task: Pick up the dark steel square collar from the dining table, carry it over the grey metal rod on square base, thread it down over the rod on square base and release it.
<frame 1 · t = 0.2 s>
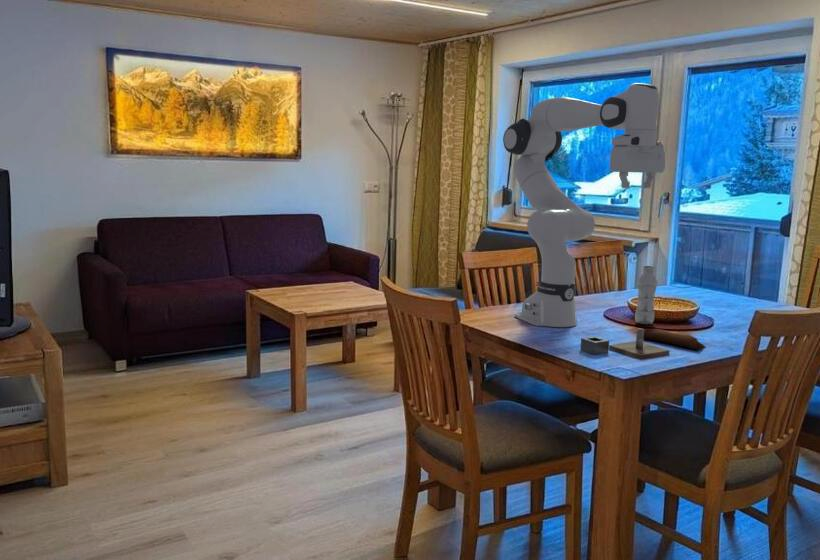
hand: (636, 188, 211), 47 cm above the table, tool pointing down, fingers open, 8 cm apart
brown tapered cylinder: (674, 345, 222), on the table
ring: (594, 351, 209), on the table
rod on square base: (638, 351, 211), on the table
plastic bottle: (643, 324, 248), on the table
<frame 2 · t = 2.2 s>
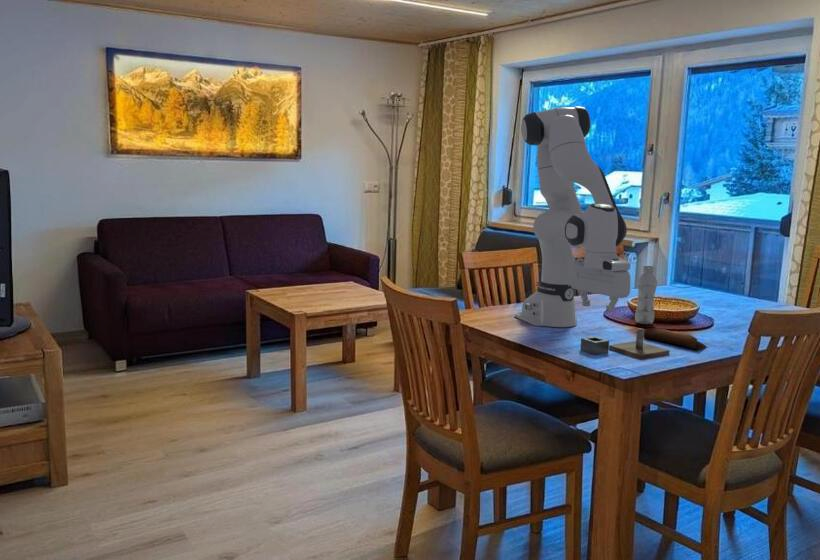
hand: (597, 308, 207), 13 cm above the table, tool pointing down, fingers open, 8 cm apart
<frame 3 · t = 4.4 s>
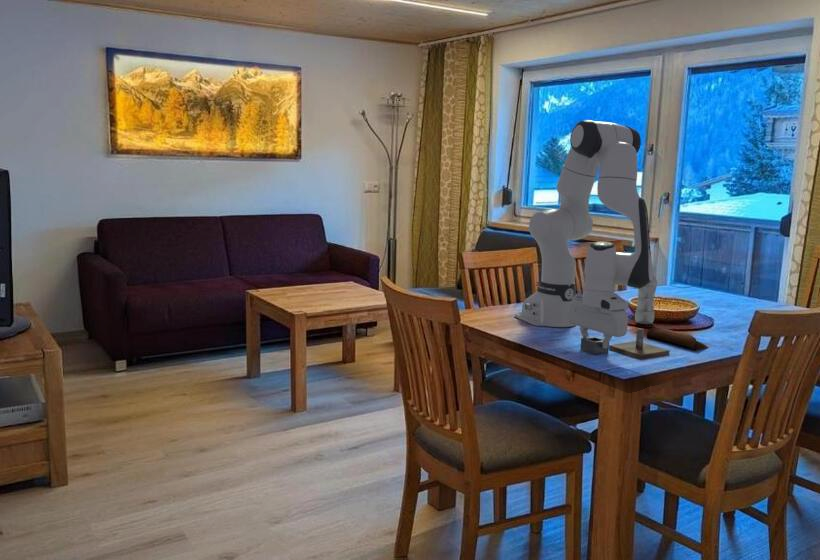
hand: (594, 345, 209), 2 cm above the table, tool pointing down, fingers closed on ring, 6 cm apart
ring: (594, 351, 209), on the table, touching gripper
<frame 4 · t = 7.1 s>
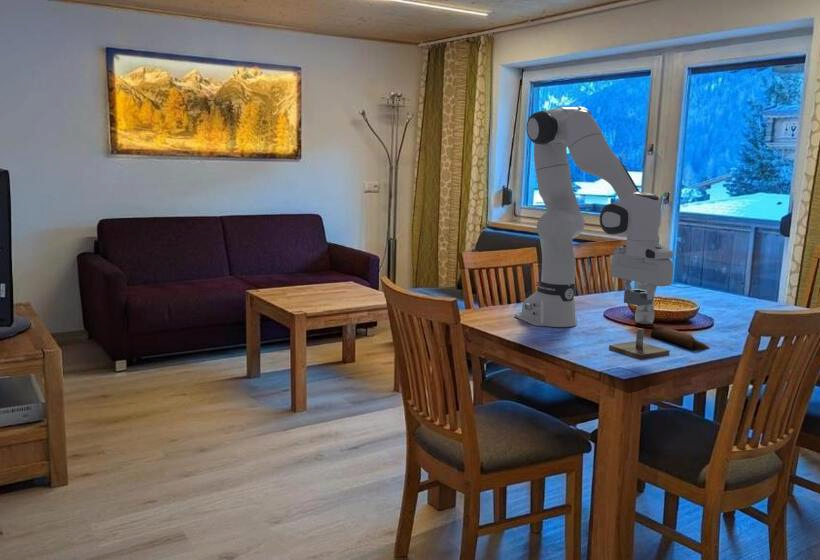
hand: (638, 297, 207), 16 cm above the table, tool pointing down, fingers closed on ring, 6 cm apart
ring: (637, 303, 208), point 15 cm above the table, touching gripper
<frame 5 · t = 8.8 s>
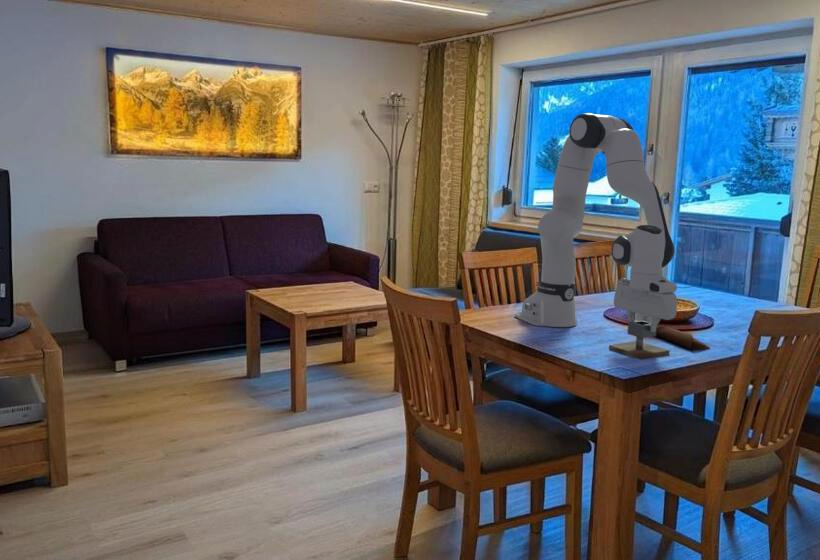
hand: (642, 328, 209), 7 cm above the table, tool pointing down, fingers closed on ring, 6 cm apart
ring: (641, 335, 210), point 5 cm above the table, touching gripper
when the fingers open (6 cm above the table, at t = 9.9 s): ring drops 3 cm, resting on rod on square base.
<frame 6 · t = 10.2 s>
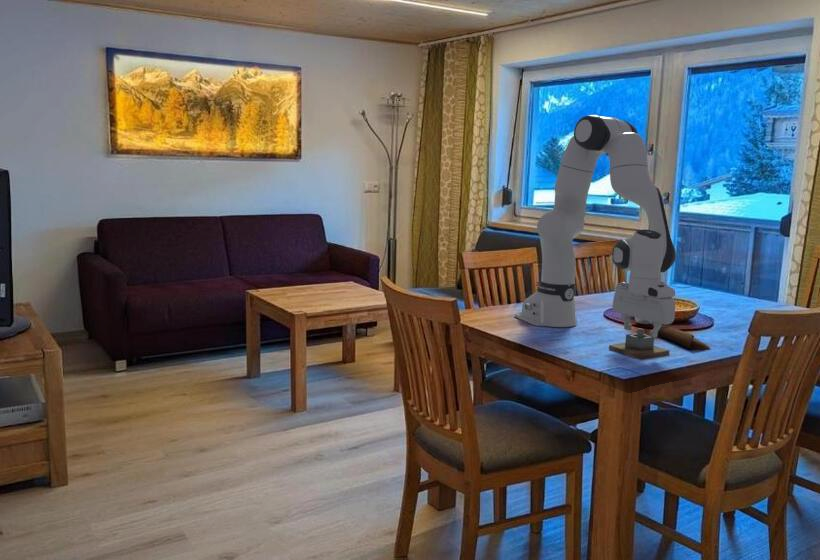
hand: (640, 333, 210), 6 cm above the table, tool pointing down, fingers open, 8 cm apart
ring: (639, 347, 210), point 1 cm above the table, touching rod on square base
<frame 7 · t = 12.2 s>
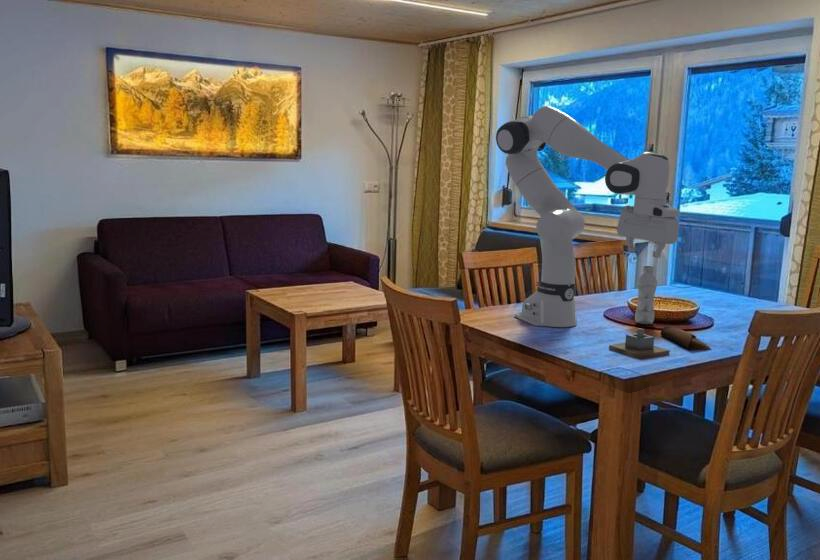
hand: (643, 254, 214), 28 cm above the table, tool pointing down, fingers open, 8 cm apart
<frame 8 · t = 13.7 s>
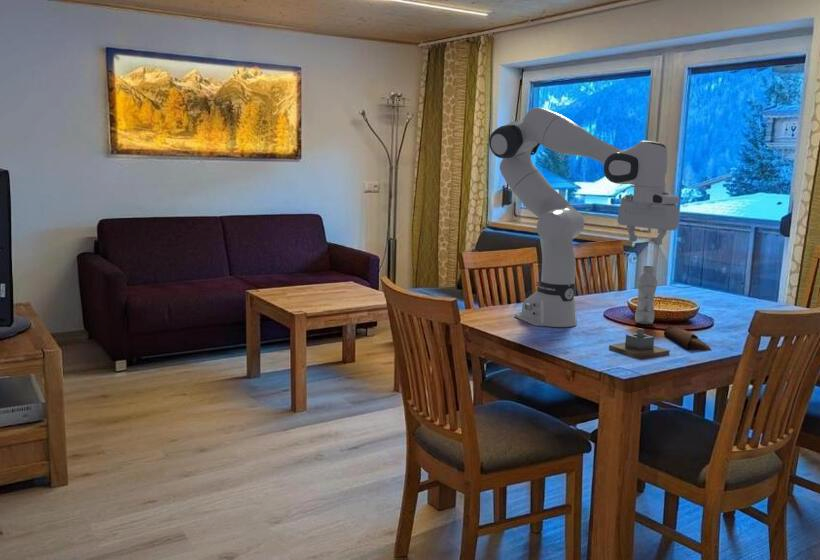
hand: (645, 242, 215), 31 cm above the table, tool pointing down, fingers open, 8 cm apart
at the end: ring 0.1 cm from the rod on square base (horizontally); ring point 1.2 cm above the table; the gripper is holding nothing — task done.
